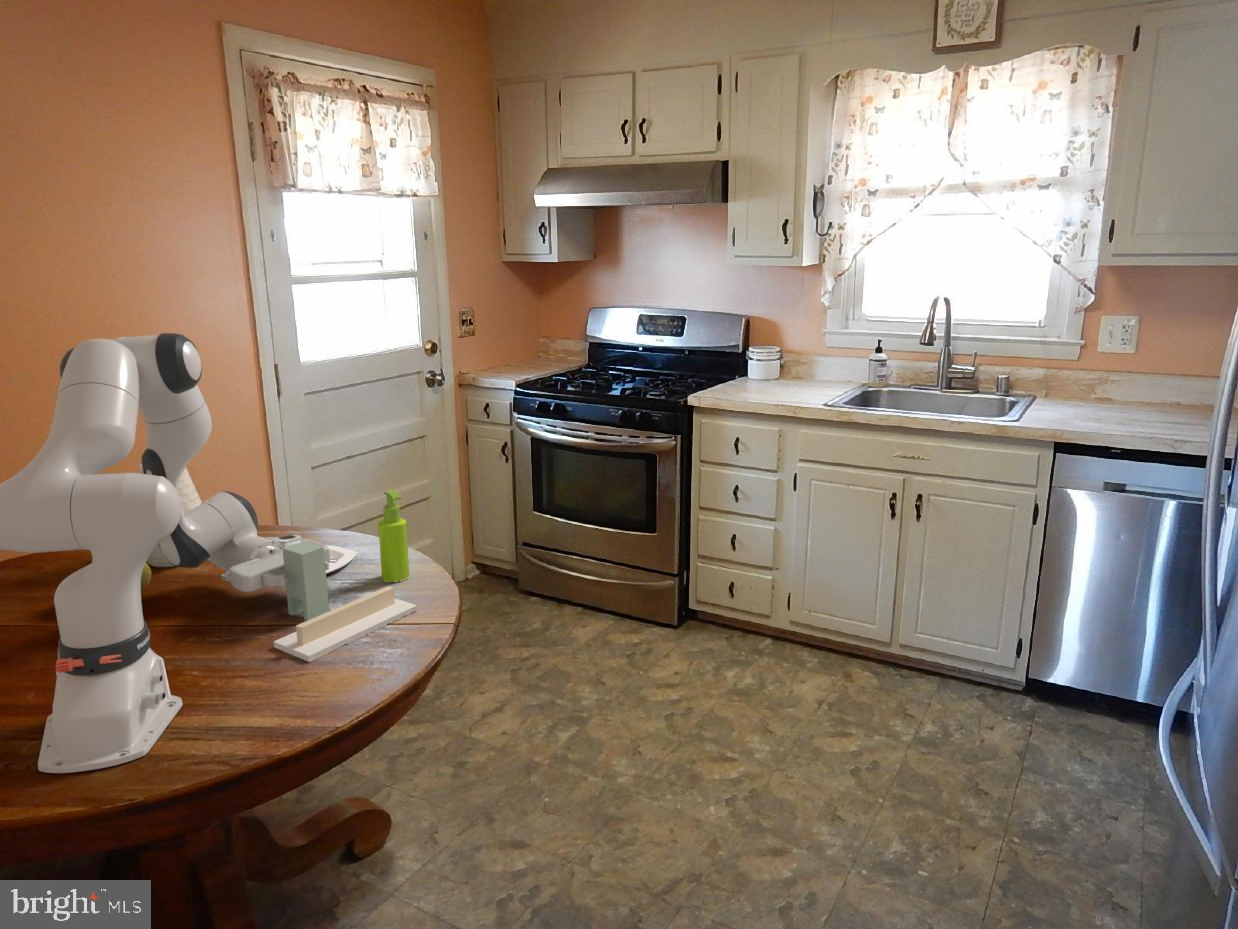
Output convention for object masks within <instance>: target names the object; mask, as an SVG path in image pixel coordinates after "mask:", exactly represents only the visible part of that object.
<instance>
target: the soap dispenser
mask: <svg viewBox="0 0 1238 929" xmlns="http://www.w3.org/2000/svg"><path fill="white" fill-rule="evenodd" d="M383 494H384V495H386V504H385V505H384V506H382V507H383V510H382V511H383V519H380V520H379V521H378V523H377V524H378V539H379V553H380V568H381V569H380V570H381V580H382V579H383V580H385V581H388V582H394V581H395V582H396V581H400V580H403V579H405V578H408V576H409V577H410V565H409V550H408V549H409V546H408V531H407V530H408V529H407V520H406V519H405V518H402V517H401V512H400V511H401V510H400V505H399V504H397V503H396V500H401V499H402V498H403V497H402V496H401V495H400V494H399V492H397V491H396V490H393V489H389V490H384V491H383ZM408 579H409V578H408ZM383 580H382V581H383ZM385 581H384V582H385ZM388 582H387V583H388Z"/></svg>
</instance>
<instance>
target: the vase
mask: <svg viewBox="0 0 1238 929" xmlns="http://www.w3.org/2000/svg"><path fill="white" fill-rule="evenodd" d="M138 473H140V474H143V469H142V463H141V464H139V468H138ZM178 492H179V496H180V500H181V504H182V508H183V512H184V515H185V514H186V513H188V512H189V511H191V510H193V509H194V508H196V507H197V506H199V505H200V504H201V503H203V501H202V500H201V497H200V495H199V493H198V491H197V489H196V486H195V484H194V482H193V480H192V477H191V475H190V473H189V470H188V468H187V467H186V468H185V469H184V471H183V472H182V474H181V476H180V478H179V481H178ZM146 563H147V564H148V566H151V567H154V568H173V567H176V566H174V565H172V564H171V563H170V562H169V561H168V560H167V559H166V558H165V557H164V555H163V553H162V552H161V549H160V547H159V545H158V546H157V547H156V548H155V549H154V550H153V551H152V553H151V554H150V556H149V557H148V559H147V561H146Z"/></svg>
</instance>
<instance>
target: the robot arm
mask: <svg viewBox="0 0 1238 929" xmlns="http://www.w3.org/2000/svg"><path fill="white" fill-rule="evenodd" d="M59 364H60V365H59V376H60V381H59V382H60V383H59V386H58V392H57V396H56V397H57V398H56V402H55V409H54V413H53V418H52V422H51V425H50V429H49V434H48V436H47V439H46V440H45V443H44V444H43V445H42V447H41V449H40V450H39V452H37V454H36V455H35V457H33V459H32V460H31V461H30V462H28V464H27V465H25V466H24V467H23V468H22V469H21V470H20V471H19V472H17V473H16V474H14V475H13V476H12V477H10V478H8V479H7V480H5V481H3V482H1V483H0V550H1V551H2V550H3V551H10V552H11V551H12V552H21V553H33V554H37V553H38V554H39V553H50V552H65V551H78V550H79V551H80V550H87V551H90V553H91V559H92V561H91V563H89V564H88V565H86V566H84V567H82V568H80V569H78V570H75V571H74V572H73V573H71V574H70V575H68V576H67V577H66V578H64V579H63V580H62V581H61V582H60V583H59V584H58V586H57V588H56V590H55V592H54V596H53V602H54V608H55V616H56V619H57V620H56V621H57V626H58V627H57V628H58V631H59V636H60V637H59V639H58V642H57V644H58V645H57V646H58V648H57V660H56V662H55V670H56V671H55V674H56V681H55V682H56V683H55V688H54V695H53V696H54V697H53V703H52V704H51V711H52V713H51V714H49V715H48V716H47V718H46V722H45V727H44V731H43V732H44V733H43V737H42V742H41V747H40V751H39V757H38V760H37V769H38V770H37V771H39V772H42V773H48V774H49V773H50V774H68V773H69V774H71V773H78V772H86V771H92V770H93V771H94V770H99V769H103V768H104V769H105V768H109V767H113V766H114V767H115V766H118V765H121V764H125V763H127V762H131V761H134V760H136V759H139V758H142V757H144V756H145V755H147V754H148V752H150V750H151V749H152V748H153V746H154V745H155V743H156V742H157V740H158V739H159V738H160V737H161V735H162V734H163V732H164V731H165V729H166V728H167V727H168V726H169V724H170V723H171V721H172V720H173V719H174V718H175V716H176V715H177V713H178V712H179V711H180V710H181V708H182V707H183V705H184V704H183V700H182V698H181V697H180V696H176V695H173V694H171V690H170V686H169V680H168V677H167V676H168V675H167V672H166V667H165V660H164V658H162V657H161V656H160V655H158V654H157V653H155V652H154V650H153V649H152V648H151V639H150V638H151V633H150V629H149V627H148V623H147V622H146V620H144V614H143V604H142V591H141V575H142V571H143V567H144V565H145V563H147V562H146V561H147V559H148V557H149V556H150V554H151V553H152V551H153V550H154V549H155V548H156V547H157V546H158V545H159V547H160V549H161V552H162V553H163V555H164V557H165V558H166V559H167V560H168V561H169V562H170V563H171V564H172V565H174V566H175V567H177V568H183V569H184V568H186V569H194V568H195V569H196V568H199V567H200V566H201V565H202V564H203V563H204V562H206V561H207V560H208V561H210V562H211V563H212V564H213V565H215V566H217V567H219V568H220V569H222V570H225V571H224V572H223V574H221V575H220V578H221V580H223V581H225V582H230V585H231V586H232V587H234V588H235V589H236V590H238V591H240V592H243V593H252V592H254V591H257V590H261V589H263V588H266V587H277V586H278V587H279V588H284V587H286V585H288V584H289V582H288V580H289V578H288V577H287V576H285V570H284V559H283V549H282V548H285V547H288V546H291V545H294V544H297V543H300V542H303V541H305V542H309V543H312V544H315V545H319V546H322V547H324V557H325V569H326V570H328V569H329V562H330V551H329V547H328V546H326V545H327V544H324V543H322V542H319V541H315V540H311V539H305V538H304V539H302V536H300V535H299V534H291V535H286V536H285V535H284V536H277V537H275V536H274V537H273V536H272V537H271V536H270V537H269V536H267V537H264V536H260V535H258V533H259V520H258V519H259V518H258V516H257V513H256V511H255V508H254V506H253V505H252V503H250V502H249V501H250V500H248V499H246V498H245V497H244V496H242V495H239V494H238V493H236V492H232V491H229V490H228V491H227V490H221V491H219V492H218V493H217V492H216V493H215V494H214V495H212V496H211V497H209V498H207V499H206V500H204V501H202V503H201V504H200V505H199V506H197V507H196V508H194V509H193V510H191V511H189V512H188V513H186V514H185V515H184V512H183V508H182V504H181V500H180V496H179V492H178V481H179V478H180V476H181V474H182V472H183V471H184V469H185V468H187V466H188V465H189V464H190V462H191V461H192V459H194V457H195V456H196V455H197V454H198V453H199V452H200V451H201V450H202V449H203V448H204V447H205V445H206V444H207V441H208V440H209V438H210V435H211V433H212V431H213V430H212V429H213V423H212V415H211V412H210V410H209V407H208V405H207V403H206V401H205V398H204V395H203V393H202V391H201V389H200V387H199V385H198V383H199V382H200V380H201V378H202V372H203V368H202V366H203V365H202V360H201V357H200V354H199V351H198V349H197V346H196V345H195V343H194V342H193V341H192V340H190V338H188V337H186V335H183V334H181V333H175V332H174V333H171V332H170V333H169V332H162V333H160V334H153V335H152V334H150V335H139V336H137V335H136V336H128V337H127V336H121V337H116V338H110V339H109V338H92V339H90V338H89V339H87V340H84V341H82V342H80V343H78V345H76V346H75V347H73V348H71V349H69V350H67V352H65V354H64V356H63V357H62V359H61V361H60V362H59ZM139 412H140V415H141V417H142V420H143V421H144V422H143V423H144V424H145V428H146V429H145V430H146V444H145V445H146V446H145V450H144V452H143V453H142V455H141V459H140V461H141V464H142V469H143V474H140V473H139V472H117V473H102V472H103V471H105V470H107V469H109V468H111V467H112V466H114V465H117V464H118V463H120V462H122V461H123V460H124V459H126V458H127V457H128V456H129V454H130V453H131V451H132V449H133V448H134V445H135V443H136V434H137V433H136V432H137V424H138V414H139Z"/></svg>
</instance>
